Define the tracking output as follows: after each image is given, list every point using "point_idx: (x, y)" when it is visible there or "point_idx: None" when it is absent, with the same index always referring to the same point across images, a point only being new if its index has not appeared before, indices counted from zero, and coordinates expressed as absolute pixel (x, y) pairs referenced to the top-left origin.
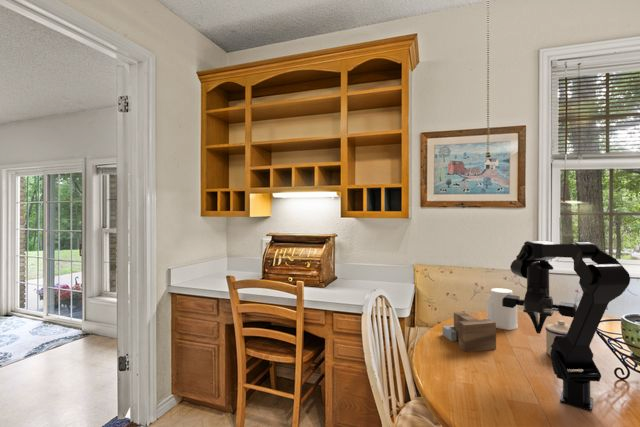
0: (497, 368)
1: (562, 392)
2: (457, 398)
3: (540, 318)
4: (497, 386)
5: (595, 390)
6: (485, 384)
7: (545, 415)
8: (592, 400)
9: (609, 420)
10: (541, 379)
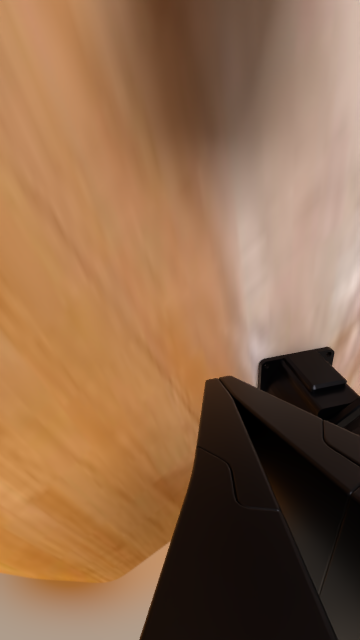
0: (30, 357)
1: (262, 378)
2: (70, 546)
3: (327, 604)
4: (105, 455)
5: (345, 273)
6: (75, 469)
7: None
8: (331, 363)
9: None
10: (190, 324)
